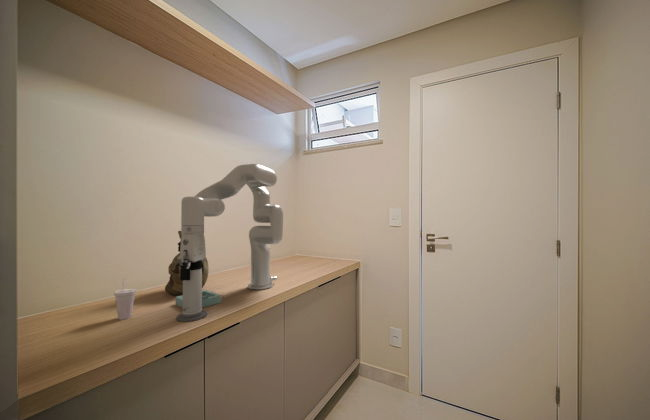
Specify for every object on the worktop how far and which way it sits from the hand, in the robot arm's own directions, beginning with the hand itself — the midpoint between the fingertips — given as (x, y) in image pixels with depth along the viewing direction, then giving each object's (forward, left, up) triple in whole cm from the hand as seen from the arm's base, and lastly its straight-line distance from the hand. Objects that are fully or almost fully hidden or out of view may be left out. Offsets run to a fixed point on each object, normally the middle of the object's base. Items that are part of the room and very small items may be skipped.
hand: (192, 276), depth 94 cm
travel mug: (0, 0, -14) cm, 14 cm away
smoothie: (+16, -18, -14) cm, 28 cm away
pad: (0, 0, -14) cm, 14 cm away
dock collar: (-8, -13, -14) cm, 21 cm away
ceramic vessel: (-13, -36, -14) cm, 41 cm away
